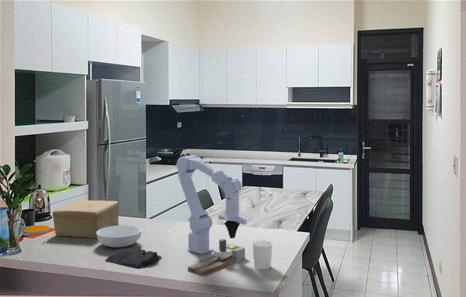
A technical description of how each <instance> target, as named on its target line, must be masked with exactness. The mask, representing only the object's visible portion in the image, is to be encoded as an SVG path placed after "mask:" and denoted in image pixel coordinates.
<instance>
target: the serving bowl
mask: <svg viewBox="0 0 466 297" xmlns="http://www.w3.org/2000/svg"><path fill="white" fill-rule="evenodd" d="M96 234H97V238H96V239H97V240H98V241H99V243H100V244H102V245H103V246H106V247H110V248H117V249H120V248H126V247H129V246H131V245H133V244H135V243H137V242H138V241H139V239H140V238H141V236H142V229H141V227H138V226H135V225H129V224H128V225H123V224H122V225H121V224H119V225H118V226H110V227H106V228H102V229H100V230H98V231H97V232H96Z"/></svg>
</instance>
